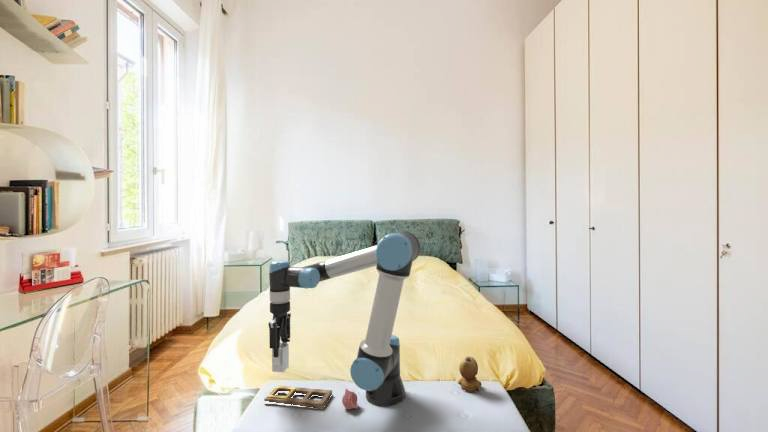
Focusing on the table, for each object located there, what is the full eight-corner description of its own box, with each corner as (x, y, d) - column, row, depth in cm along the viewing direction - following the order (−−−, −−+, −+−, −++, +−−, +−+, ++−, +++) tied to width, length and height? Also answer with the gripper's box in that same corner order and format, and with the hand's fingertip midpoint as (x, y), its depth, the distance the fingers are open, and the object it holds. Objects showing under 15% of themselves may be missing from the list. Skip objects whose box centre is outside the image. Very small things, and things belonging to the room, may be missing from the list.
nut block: (288, 367, 137) (288, 343, 137) (283, 372, 132) (282, 347, 132) (278, 366, 137) (277, 342, 137) (272, 371, 133) (272, 346, 133)
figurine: (485, 386, 140) (482, 353, 137) (480, 399, 134) (476, 365, 131) (462, 380, 146) (458, 349, 143) (455, 392, 139) (451, 359, 136)
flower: (335, 395, 125) (348, 385, 125) (340, 393, 132) (352, 384, 133) (347, 416, 122) (360, 406, 122) (351, 413, 129) (364, 403, 130)
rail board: (332, 395, 136) (332, 389, 136) (322, 409, 126) (322, 402, 126) (277, 390, 140) (277, 384, 140) (264, 404, 131) (264, 397, 131)
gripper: (281, 295, 144) (282, 352, 144) (258, 306, 127) (259, 371, 127) (299, 296, 143) (299, 353, 143) (277, 307, 125) (278, 372, 125)
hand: (280, 361), depth 135 cm, fingers closed on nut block, 4 cm apart
